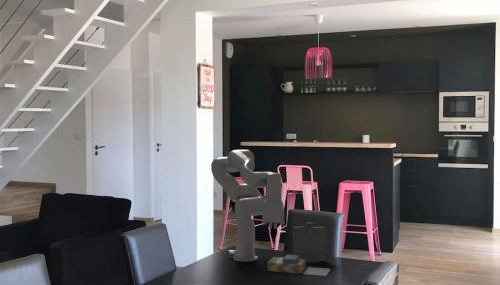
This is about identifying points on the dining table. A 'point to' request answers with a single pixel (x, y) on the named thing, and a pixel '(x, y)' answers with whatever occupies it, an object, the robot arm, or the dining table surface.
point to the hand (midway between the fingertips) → (273, 236)
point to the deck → (286, 265)
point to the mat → (316, 271)
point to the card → (291, 259)
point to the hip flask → (309, 242)
